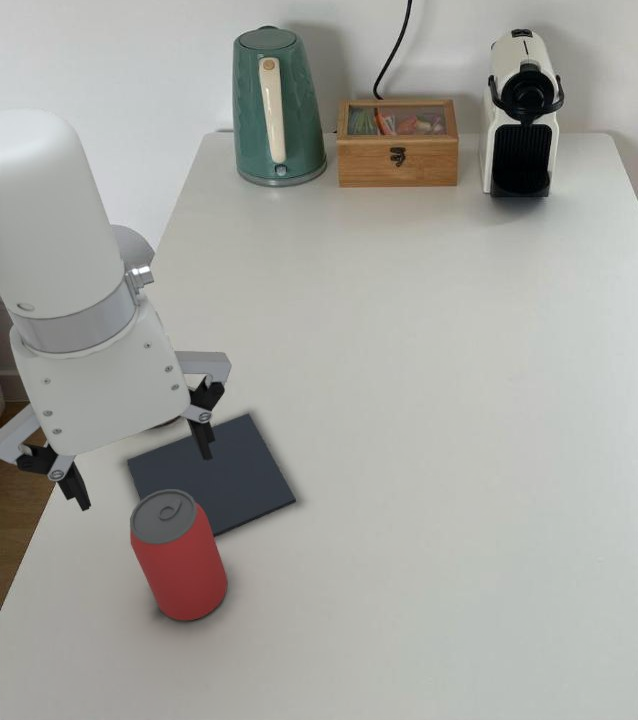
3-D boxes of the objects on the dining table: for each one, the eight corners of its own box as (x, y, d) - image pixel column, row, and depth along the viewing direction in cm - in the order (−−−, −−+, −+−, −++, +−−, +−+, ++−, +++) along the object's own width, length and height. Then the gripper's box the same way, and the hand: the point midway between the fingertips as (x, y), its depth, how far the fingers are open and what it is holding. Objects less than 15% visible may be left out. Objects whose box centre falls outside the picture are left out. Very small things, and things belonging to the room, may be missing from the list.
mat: (163, 558, 79) (162, 556, 79) (127, 462, 88) (126, 459, 88) (296, 501, 83) (295, 498, 83) (249, 415, 93) (248, 413, 92)
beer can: (243, 580, 77) (219, 502, 69) (196, 636, 73) (165, 560, 65) (190, 551, 79) (161, 472, 71) (142, 603, 75) (106, 527, 67)
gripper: (186, 235, 58) (232, 402, 69) (-74, 317, 52) (24, 483, 64) (220, 291, 53) (264, 461, 64) (-63, 388, 47) (41, 554, 59)
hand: (144, 472), depth 64 cm, fingers open, 9 cm apart
